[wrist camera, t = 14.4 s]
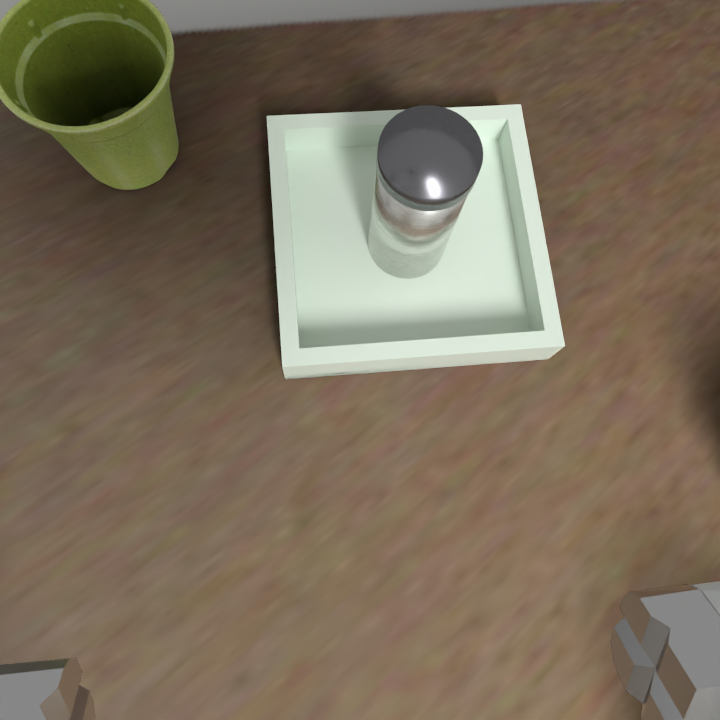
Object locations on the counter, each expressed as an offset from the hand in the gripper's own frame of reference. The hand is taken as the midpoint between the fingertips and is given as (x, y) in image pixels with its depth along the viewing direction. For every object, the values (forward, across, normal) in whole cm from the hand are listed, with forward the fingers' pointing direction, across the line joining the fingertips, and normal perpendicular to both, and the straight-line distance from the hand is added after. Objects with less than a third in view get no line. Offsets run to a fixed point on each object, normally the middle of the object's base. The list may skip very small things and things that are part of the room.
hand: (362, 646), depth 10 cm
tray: (+32, -7, +6) cm, 33 cm away
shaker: (+31, -7, +5) cm, 32 cm away
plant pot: (+38, +10, 0) cm, 39 cm away
